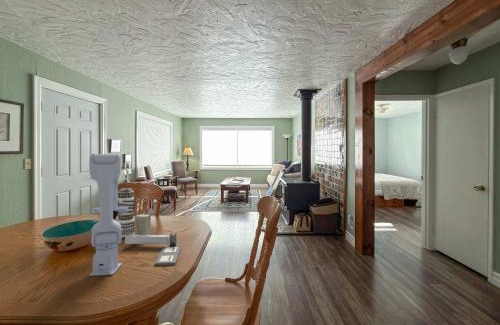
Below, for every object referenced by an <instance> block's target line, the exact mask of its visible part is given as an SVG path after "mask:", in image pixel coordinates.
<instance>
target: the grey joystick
mask: <svg viewBox="0 0 500 325" xmlns="http://www.w3.org/2000/svg"><path fill="white" fill-rule="evenodd" d="M169 235H170V242H169V244H167V246H166V247H180V242H179V243H177V233H169Z"/></svg>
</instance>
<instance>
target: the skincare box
mask: <svg viewBox="0 0 500 325" xmlns="http://www.w3.org/2000/svg"><path fill="white" fill-rule="evenodd" d="M151 221H152V220H151V214H138V215H135V235H152V224H151V223H152V222H151Z"/></svg>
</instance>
